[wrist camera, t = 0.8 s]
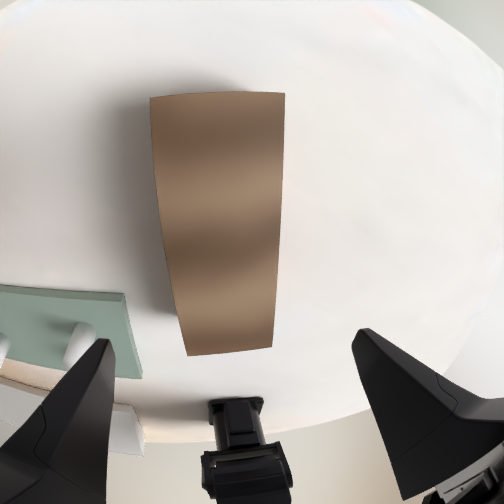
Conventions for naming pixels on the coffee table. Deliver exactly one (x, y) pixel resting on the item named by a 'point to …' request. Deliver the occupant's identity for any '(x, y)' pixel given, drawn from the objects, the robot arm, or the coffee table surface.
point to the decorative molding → (29, 398)
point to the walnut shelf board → (221, 213)
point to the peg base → (64, 327)
